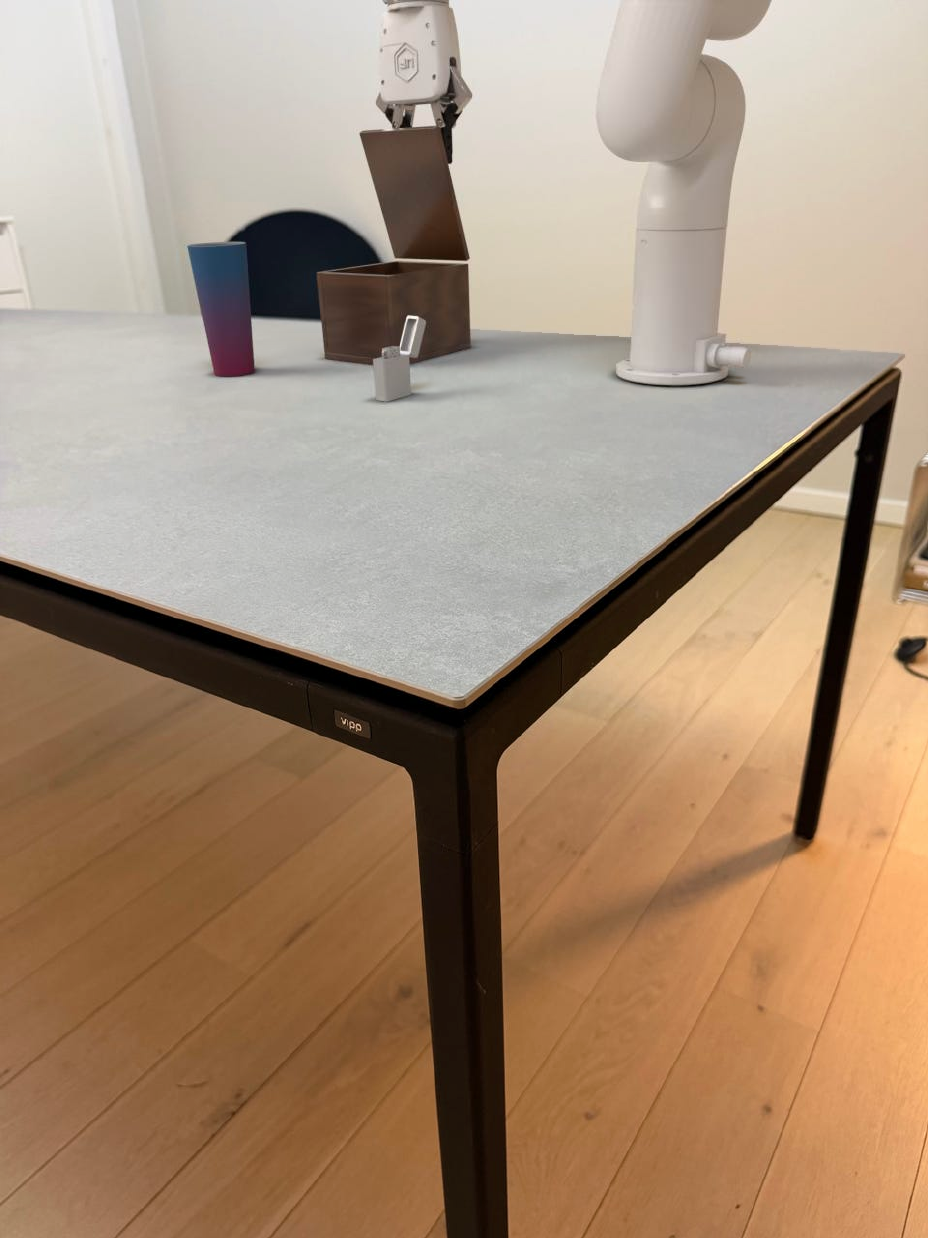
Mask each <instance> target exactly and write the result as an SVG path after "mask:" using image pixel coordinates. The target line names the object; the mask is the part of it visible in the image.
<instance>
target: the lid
mask: <svg viewBox="0 0 928 1238" xmlns="http://www.w3.org/2000/svg"><path fill="white" fill-rule="evenodd" d="M358 134H359V137H360V141H361V144H362V148H363V151H364V155H365V158H366V162H367V165H368V169H369V172H370V176H371V179H372V184H373V187H374V190H375V193H376V197H377V200H378V204H379V208H380V211H381V215H382V217H383V222H384V226H385V229H386V233H387V236H388V239H389V243H390V247H391V250H392V254H393V257H394V259H398V260H400V259H401V260H424V261H425V260H427V261H428V260H429V261H457V262H467V261H469V260H470V258H471V256H470V253H469V248H468V245H467V241H466V240H467V239H466V235H465V230H464V225H463V222H462V218H461V214H460V209H459V205H458V200H457V196H456V191H455V188H454V183H453V177H452V174H451V169H450V166H449V165H450V164H448V161H447V157H446V152H445V148H444V143H443V139H442V135H441V130H440V126H436V125H428V126H412V127H409V128H394V129H392V128H381V129H380V128H379V129H367V130H366V129H365V130H361V131H360V132H358Z"/></svg>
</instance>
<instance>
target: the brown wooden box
mask: <svg viewBox="0 0 928 1238" xmlns="http://www.w3.org/2000/svg"><path fill="white" fill-rule="evenodd" d="M469 277H470V273H469V263H460V262H436V261H434V262H433V261H412V260H411V261H410V260H409V261H408V260H393V261H386V262H379V263H372V264H365V265H359V266H358V265H357V266H351V267H345V268H344V267H343V268H337V269H330V270H323V271H317V272H316V280H317V289H318V290H317V292H318V303H319V311H320V313H319V314H320V321H321V333H322V342H323V353H324V359H326V360H333V361H339V362H340V361H341V362H342V361H343V362H350V363H355V364H365V365H373V359H376V358H380V357H382V348H386V347H391V346H397V347H400V343H401V339H402V335H403V330H404V326H405V322H406V318H407V316H418V317H420V318H422V319H424V320H425V321H426V325H425V329H424V333H423V337H422V341H421V346H420V350H419V354H418V357H417V358H412V357H409V364H414V363H418V362H422V361H426V360H430V359H433V358H437V357H440V356H445V355H448V354H452V353H455V352H459V351H463V350H467V349H471V347H472V343H471V312H470V311H471V309H470V306H471V305H470V278H469Z"/></svg>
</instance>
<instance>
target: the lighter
mask: <svg viewBox="0 0 928 1238" xmlns="http://www.w3.org/2000/svg"><path fill="white" fill-rule="evenodd" d="M425 325H426V321H425V320H424V319H422V318H420V317H418V316H407V318H406V322H405V326H404V330H403V335H402V339H401V343H400V347H397V346H391V347H386V348H382V357H380V358H376V359H373V377H374V390H375V391H374V392H375V393H374V394H375V400H376V401H379V402H384V403H385V402H391V401H394V400H398V399H401V398H405V397H408V396H412V383H411V366H410V364H409V357H412V358H417V357H418V354H419V350H420V346H421V341H422V337H423V333H424V329H425Z"/></svg>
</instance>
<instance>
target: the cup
mask: <svg viewBox="0 0 928 1238" xmlns="http://www.w3.org/2000/svg"><path fill="white" fill-rule="evenodd" d="M186 246H187V251H188V256H189V261H190V267H191V270H192V275H193V281H194V285H195V289H196V294H197V299H198V303H199V308H200V313H201V318H202V323H203V327H204V332H205V336H206V341H207V347H208V350H209V356H210V359H211V360H210V361H211V365H212V370H213V374H214V375H215V376H218V377H239V376H240V377H241V376H246V375H251V374H253V373H255V371H256V366H255V356H254V355H255V352H254V351H255V350H254V339H253V323H252V310H251V309H252V308H251V295H250V282H249V281H250V280H249V266H248V254H247V251H248V250H247V242H245V241H215V242H214V241H212V242H201V243H193V244H191V243H190V244H188V245H186Z"/></svg>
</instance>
